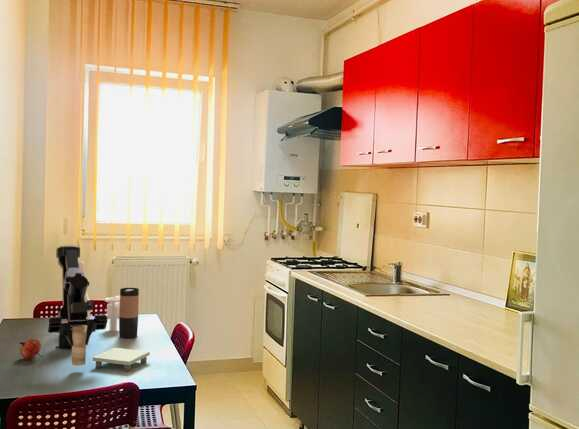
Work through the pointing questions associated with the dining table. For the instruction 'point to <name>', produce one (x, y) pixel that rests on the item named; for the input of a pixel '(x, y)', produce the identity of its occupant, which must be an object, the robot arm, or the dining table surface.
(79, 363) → the post
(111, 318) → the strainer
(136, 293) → the travel mug
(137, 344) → the dining table surface
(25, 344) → the pomegranate
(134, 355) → the peg shelf
